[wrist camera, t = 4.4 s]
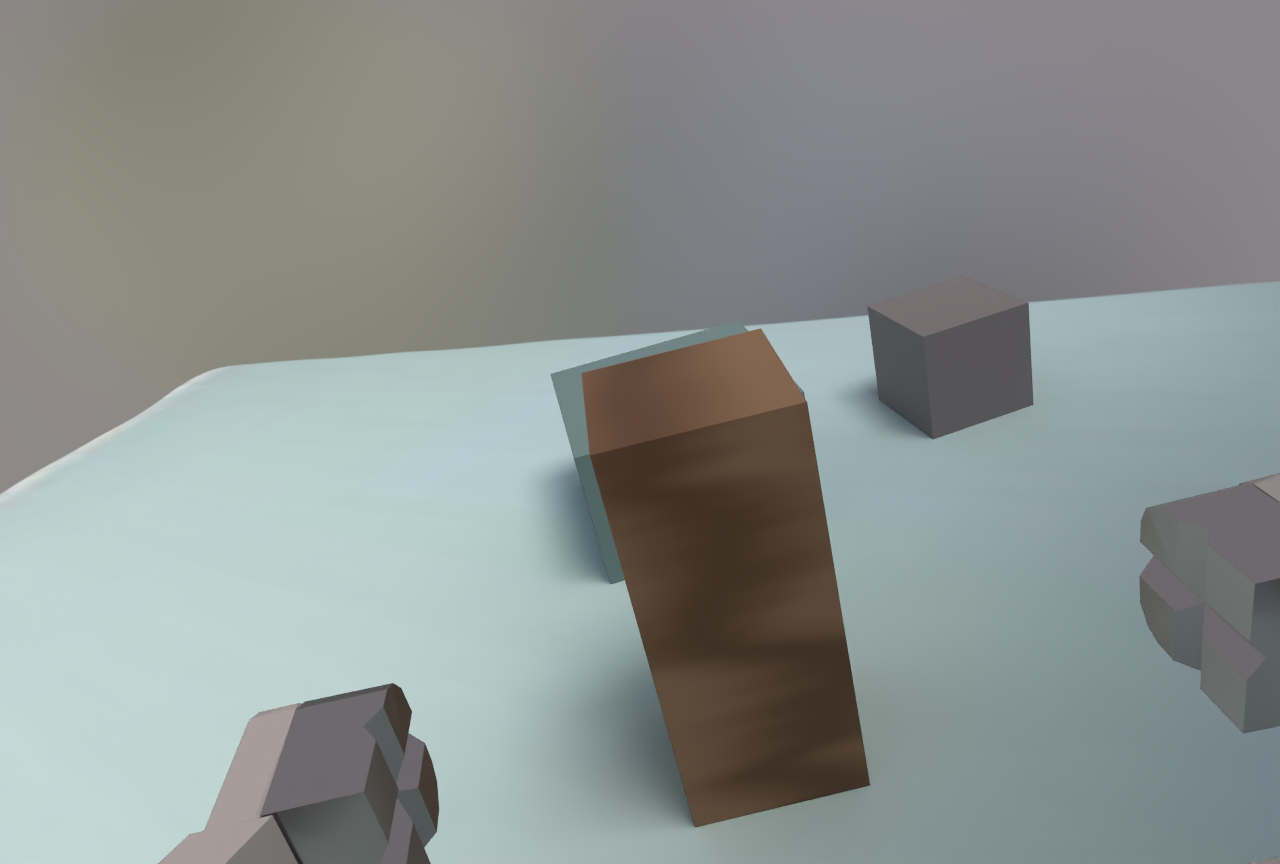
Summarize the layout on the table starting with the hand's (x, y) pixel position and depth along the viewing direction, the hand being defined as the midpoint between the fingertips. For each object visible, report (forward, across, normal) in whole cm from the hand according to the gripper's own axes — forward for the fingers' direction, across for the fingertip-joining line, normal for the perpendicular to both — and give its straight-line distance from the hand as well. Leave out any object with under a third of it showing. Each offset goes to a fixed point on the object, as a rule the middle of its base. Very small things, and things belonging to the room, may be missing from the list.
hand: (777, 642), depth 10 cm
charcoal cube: (+32, -14, +14) cm, 37 cm away
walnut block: (+14, 0, +15) cm, 20 cm away
